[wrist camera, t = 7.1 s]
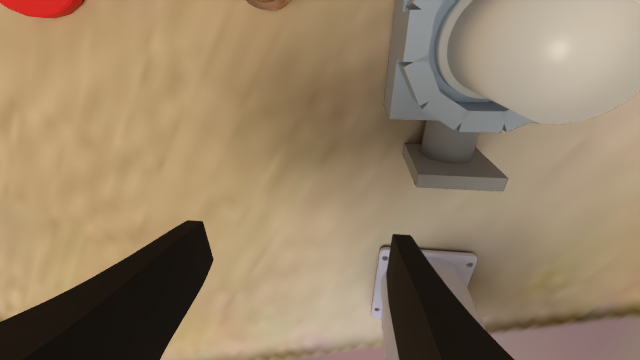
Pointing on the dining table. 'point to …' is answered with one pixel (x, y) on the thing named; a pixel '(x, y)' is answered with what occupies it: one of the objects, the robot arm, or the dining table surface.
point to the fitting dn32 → (269, 4)
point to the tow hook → (42, 7)
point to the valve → (439, 106)
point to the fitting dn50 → (543, 55)
